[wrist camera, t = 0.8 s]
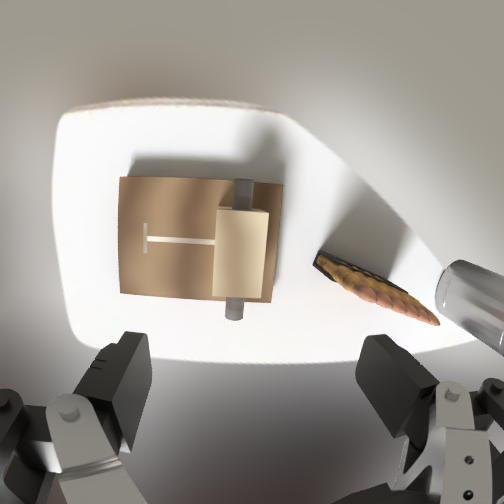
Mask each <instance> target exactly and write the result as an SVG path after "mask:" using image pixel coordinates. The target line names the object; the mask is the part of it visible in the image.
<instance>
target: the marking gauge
mask: <svg viewBox="0 0 504 504" xmlns="http://www.w3.org/2000/svg"><path fill="white" fill-rule="evenodd" d="M253 188H254V180H249V179H234V191H233V203H232V207H227V206H218V208H217V216H216V231H215V248H214V267H213V290H212V296H218V297H226V310H225V317H226V318H227V319H229V320H234V321H236V320H241V319H242V318H243V309H244V298H261V291H262V281H263V271H264V261H265V251H266V240H267V230H268V219H269V213H267V212H265V211H263V210H261V209H255V208H252V200H253Z"/></svg>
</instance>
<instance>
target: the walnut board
mask: <svg viewBox="0 0 504 504" xmlns="http://www.w3.org/2000/svg"><path fill="white" fill-rule="evenodd" d="M233 191H234V180H220V179H202V178H179V177H120V182H119V202H118V261H119V281H120V293H123V294H134V295H144V296H156V297H168V298H181V299H196V300H213V301H226V297H218V296H212V290H213V267H214V248H215V231H216V216H217V208H218V206H227V207H232V203H233ZM282 192H283V185H279V184H269V183H258V182H254V188H253V200H252V208H255V209H261V210H263V211H265V212H267V213H269V219H268V230H267V240H266V251H265V261H264V271H263V281H262V291H261V298H244V302H260V303H271V299H272V290H273V281H274V272H275V263H276V254H277V244H278V234H279V224H280V213H281V203H282Z"/></svg>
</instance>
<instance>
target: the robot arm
mask: <svg viewBox="0 0 504 504" xmlns="http://www.w3.org/2000/svg"><path fill="white" fill-rule="evenodd" d="M436 307H437V310H438V311H439V313H440V314H442V315H443V316H445V317H446V318H448V319H450V320H451V321H453V322H454V323H455V324H457V325H458V326H460V327H461V328H463V329H464V330H466V331H467V332H469V333H470V334H472V335H473V336H475V337H476V338H478V339H479V340H481V341H482V342H483V343H485V344H486V345H488V346H489V347H491V348H492V349H494V350H495V351H496V352H498V353H499V354H500V355H502V356H503V357H504V276H502V275H499V274H497V273H495V272H492V271H490V270H487V269H485V268H482V267H480V266H477V265H474V264H472V263H469V262H467V261H464V260H457V261H455V262H453V263H452V264H450V266H449V267H448V268H447V269H446V270H445V272H444V273H443V275H442V277H441V279H440V281H439V284H438V287H437V291H436ZM355 375H356V381H357V383H358V385H359V386H360V388H361V389H362V391H363V392H364V394H365V395H366V397H367V398H368V400H369V401H370V403H371V404H372V406H373V408H374V409H375V410H376V412H377V413H378V415H379V417H380V418H381V419H382V421H383V423H384V424H385V426H386V427H387V429H388V430H389V432H390V433H391V435H392V437H393V438H397V437H400V436H403V435H407V436H408V438H407V440H406V441H405V444H404V448H403V453H402V458H401V463H400V467H399V471H398V475H397V479H396V482H395V484H394V486H393V488H392V489H391V490H390V488H389V486H388V484H387V483H384V484H381V485H378V486H375V487H372V488H369V489H366V490H362V491H359V492H356V493H352V494H350V495H348V496H346V497H344V498H342V499H340V500H338V501H336V502H334V503H332V504H504V451H503V452H502V453H501V454H500V452H499V451H498V450H497V449H496V447H495V446H494V445H493V444H492V443H491V441H490V440H489V437H488V433H487V430H488V429H489V427H490V426H491V424H492V423H493V421H494V420H495V421H496V422H497V423H498V424H499V425H500V427H502V429H503V430H504V382H503V381H501V380H499V379H495V378H488V379H486V380H484V382H483V384H482V386H481V387H480V389H479V391H474V392H468V390H467V389H466V388H465V387H463V386H462V385H460V384H458V383H456V382H451V381H445V382H441V383H440V382H439V381H438V380H437V379H436V378H435V377H434V376H433V375H432V374H431V373H430V372H428V370H427V369H426V368H424V366H423V365H420V363H419V362H418V361H417V360H416V359H414V357H413V356H412V355H411V354H410V353H409V352H408V351H407V350H405V349H403V348H401V347H400V346H398V345H397V344H396V343H395V342H394V341H393V340H392V339H391V338H390V337H388V336H387V335H386V334H381V335H370V336H367V337H366V338H365V340H364V343H363V347H362V350H361V354H360V357H359V360H358V364H357V367H356V373H355ZM151 381H152V367H151V359H150V352H149V343H148V337H147V334H145V333H136V332H128V331H126V332H124V334H123V335H122V337H121V339H120V340H119V342H118V343H117V344H115V343H110V344H109V345H107V346H106V347H104V348H103V349H101V350H100V352H99V353H98V355H97V356H96V358H95V361H93V362H92V364H91V365H90V368H88V370H87V371H86V373H85V375H84V376H83V377H82V379H81V381H80V382H79V384H78V385H77V387H76V388H75V390H74V392H73V393H72V394H63V395H60V396H57V397H56V398H54V399H53V400H51V401H50V402H49V404H48V405H47V407H43V406H31V405H25V404H24V403H23V400H22V398H21V397H20V395H19V394H18V393H17V392H16V391H13V390H11V389H0V504H46V502H47V499H48V496H49V492H50V489H51V486H52V483H53V480H54V477H55V474H56V472H57V473H59V474H58V479H59V483H60V486H61V489H62V491H63V494H64V496H65V498H66V501H67V503H68V504H147V502H146V501H145V499H144V498H143V496H142V495H141V493H140V492H139V491H138V489H137V488H136V486H135V485H134V483H133V482H132V480H131V478H130V477H129V475H128V473H127V472H126V470H125V469H124V467H123V465H122V463H121V462H120V460H119V459H118V458H117V457H118V454H119V451H122V452H127V453H131V451H132V447H133V443H134V440H135V436H136V432H137V429H138V425H139V422H140V419H141V416H142V412H143V409H144V406H145V403H146V399H147V396H148V393H149V390H150V386H151ZM13 452H14V453H15V456H14V458H13V460H12V462H11V464H10V467H9V469H8V471H7V473H6V476H5V478H4V480H3V473H4V470H5V468H6V465H7V463H8V461H9V459H10V457H11V455H12V453H13Z"/></svg>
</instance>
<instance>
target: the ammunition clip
mask: <svg viewBox="0 0 504 504" xmlns="http://www.w3.org/2000/svg"><path fill="white" fill-rule="evenodd" d="M313 266H314V267H315V268H317V269H318V270H319V271H320V272H322V273H323V274H324V275H325V276H326V277H328V278H329V279H330V280H332V281H334V282H337V283H339V284H340V285H341V286H343V287H344V288H345V289H346V290H348V291H351V292H353V293H354V294H355V295H357V296H359V297H360V298H362V299H363V300H366V301H368V302H372V303H376V304H378V305H380V306H382V307H385V308H389V309H391V310H393V311H396V312H398V313H402V314H405V315H407V316H409V317H412V318H416V319H418V320H420V321H423V322H427V323H429V324H431V325H435V326H439V325H440V322H439V320H438V319H437V317H436V316H435V315H434V314H433V313H432V312H431V311H429V310H428V309H427V308H426V307H424V306H423V305H422V304H421V303H420V302H419V301H418V300H416V299H415V298H413V297H412V296H410V295H409V294H408V292H407V291H405V290H403V289H402V288H400V287H398V286H397V285H395V284H393V283H392V282H390V281H389V280H387V279H385V278H383V277H380V276H378V275H376V274H374V273H371V272H369V271H367V270H365V269H362V268H360V267H358V266H355V265H353V264H351V263H348V262H346V261H344V260H341V259H339V258H337V257H334V256H332V255H330V254H327V253H325V252H323V251H320V250H319V251H318V254H317V256H316V258H315V260H314V263H313Z"/></svg>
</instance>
